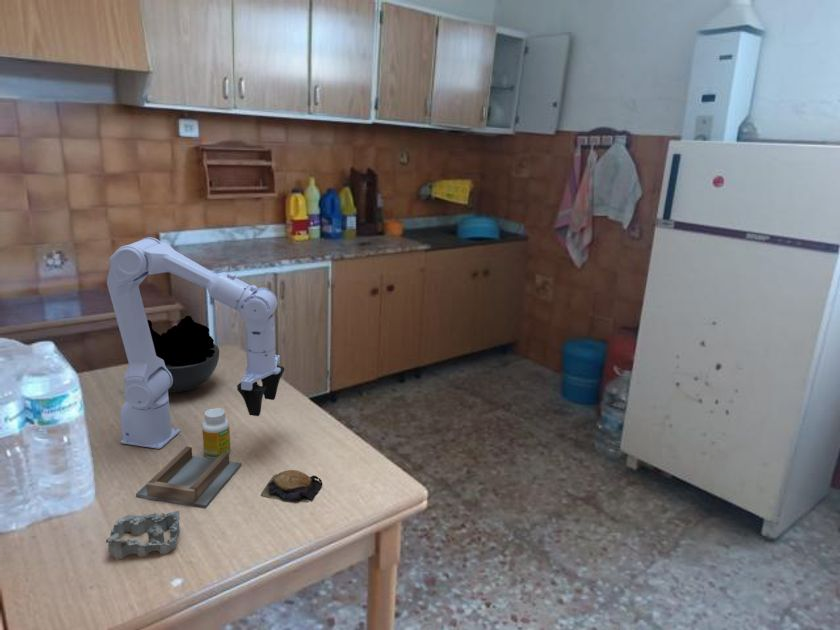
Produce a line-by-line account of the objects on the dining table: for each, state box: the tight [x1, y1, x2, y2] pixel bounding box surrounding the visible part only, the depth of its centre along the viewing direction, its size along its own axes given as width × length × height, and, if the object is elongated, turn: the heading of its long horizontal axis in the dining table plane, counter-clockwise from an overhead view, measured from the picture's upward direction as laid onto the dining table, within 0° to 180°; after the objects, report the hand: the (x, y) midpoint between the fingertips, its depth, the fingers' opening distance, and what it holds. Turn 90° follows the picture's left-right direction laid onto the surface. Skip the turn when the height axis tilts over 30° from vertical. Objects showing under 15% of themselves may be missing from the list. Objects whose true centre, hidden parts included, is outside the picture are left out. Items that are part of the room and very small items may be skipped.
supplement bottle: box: [201, 407, 231, 459], centre depth 122 cm, size 5×5×10 cm
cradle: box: [135, 446, 242, 509], centre depth 114 cm, size 14×14×3 cm
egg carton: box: [105, 510, 181, 560], centre depth 97 cm, size 11×8×4 cm
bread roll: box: [260, 469, 323, 503], centre depth 113 cm, size 11×8×4 cm
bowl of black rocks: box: [147, 315, 220, 393], centre depth 149 cm, size 20×20×19 cm
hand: (262, 406), depth 124 cm, fingers open, 7 cm apart
